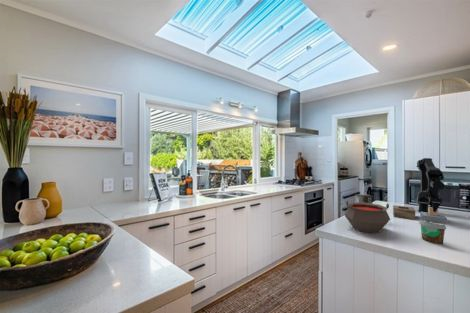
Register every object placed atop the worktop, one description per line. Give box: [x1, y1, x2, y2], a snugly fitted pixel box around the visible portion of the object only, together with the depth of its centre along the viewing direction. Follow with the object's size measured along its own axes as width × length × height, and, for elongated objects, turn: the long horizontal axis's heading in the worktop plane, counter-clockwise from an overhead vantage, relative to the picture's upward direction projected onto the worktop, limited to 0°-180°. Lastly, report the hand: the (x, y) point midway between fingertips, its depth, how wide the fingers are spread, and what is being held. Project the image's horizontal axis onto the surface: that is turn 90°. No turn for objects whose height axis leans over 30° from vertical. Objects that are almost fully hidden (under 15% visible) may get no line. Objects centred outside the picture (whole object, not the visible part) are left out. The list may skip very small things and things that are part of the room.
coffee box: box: [354, 193, 373, 204], centre depth 157 cm, size 9×6×16 cm
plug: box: [428, 206, 439, 216], centre depth 153 cm, size 4×4×7 cm
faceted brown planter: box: [344, 200, 391, 234], centre depth 135 cm, size 24×24×16 cm
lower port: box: [419, 212, 448, 225], centre depth 153 cm, size 12×12×4 cm
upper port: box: [392, 204, 416, 221], centre depth 162 cm, size 12×12×6 cm
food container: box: [418, 218, 447, 245], centre depth 117 cm, size 12×6×10 cm, turn 5°
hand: (433, 210), depth 153 cm, fingers open, 9 cm apart
